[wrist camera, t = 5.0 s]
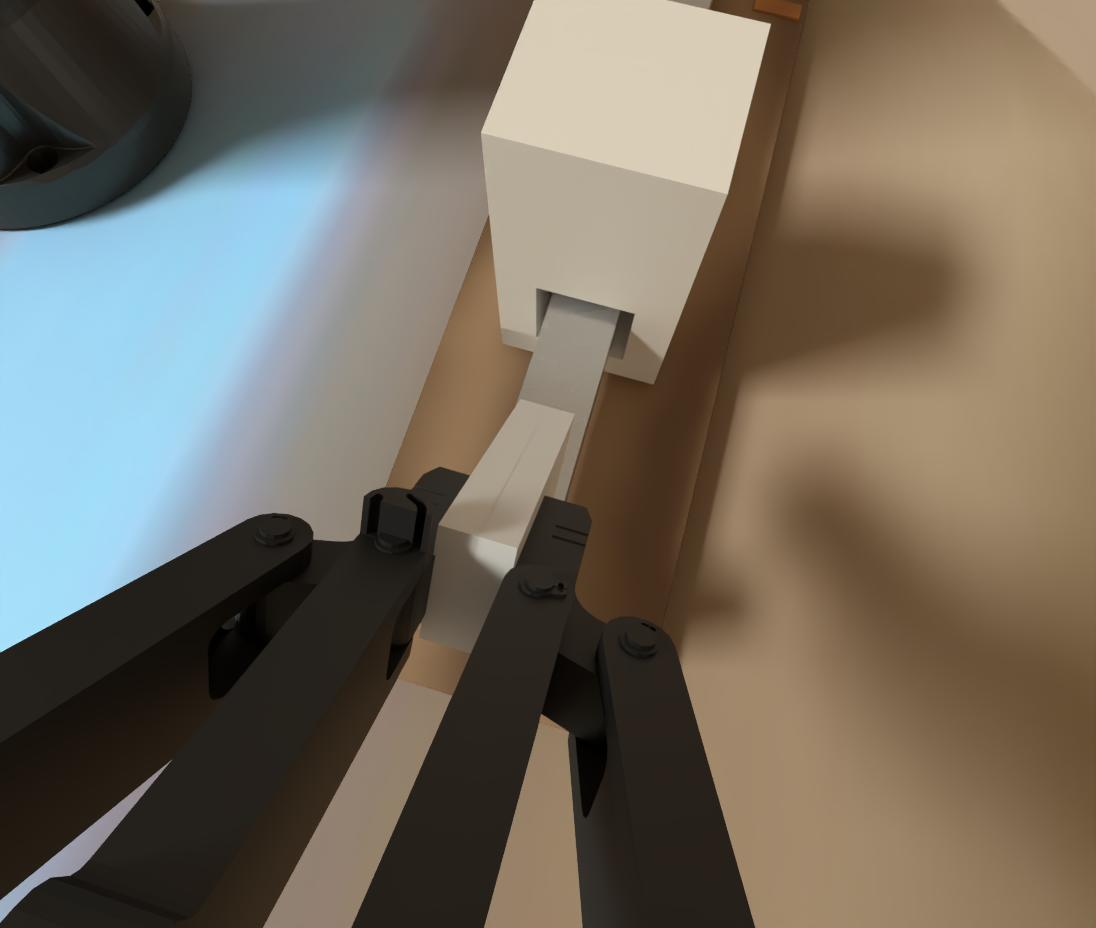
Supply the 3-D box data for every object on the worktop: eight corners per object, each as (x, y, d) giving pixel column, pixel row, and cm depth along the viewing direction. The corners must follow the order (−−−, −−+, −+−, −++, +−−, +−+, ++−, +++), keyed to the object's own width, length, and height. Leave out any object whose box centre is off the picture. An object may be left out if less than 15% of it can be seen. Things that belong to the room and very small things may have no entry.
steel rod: (456, 604, 24) (445, 594, 21) (708, -166, 37) (722, -235, 34) (535, 628, 24) (535, 620, 21) (762, -155, 36) (781, -224, 34)
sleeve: (502, 343, 29) (481, 132, 18) (542, 228, 31) (545, -29, 20) (653, 384, 29) (727, 194, 18) (685, 265, 30) (770, 24, 19)
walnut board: (330, 656, 27) (249, 644, 19) (622, -122, 41) (642, -308, 33) (628, 748, 26) (666, 774, 18) (824, -78, 40) (892, -259, 32)
